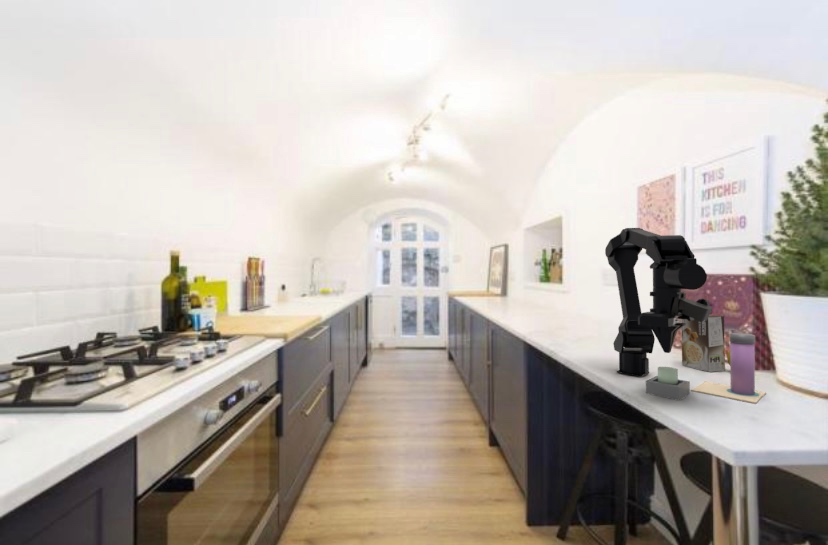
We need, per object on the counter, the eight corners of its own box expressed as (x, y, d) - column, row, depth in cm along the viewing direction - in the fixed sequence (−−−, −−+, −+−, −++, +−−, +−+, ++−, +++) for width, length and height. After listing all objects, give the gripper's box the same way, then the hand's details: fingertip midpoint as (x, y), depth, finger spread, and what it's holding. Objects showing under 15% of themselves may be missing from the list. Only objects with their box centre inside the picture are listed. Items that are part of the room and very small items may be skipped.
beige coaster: (691, 391, 95) (691, 389, 95) (705, 382, 102) (705, 381, 102) (755, 403, 86) (755, 402, 86) (766, 393, 92) (766, 392, 92)
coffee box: (726, 370, 113) (726, 315, 113) (709, 372, 111) (708, 316, 111) (696, 363, 122) (696, 312, 122) (680, 365, 120) (679, 313, 120)
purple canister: (727, 392, 93) (727, 334, 93) (732, 388, 96) (732, 332, 96) (752, 396, 89) (752, 336, 89) (757, 392, 92) (757, 334, 92)
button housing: (645, 393, 94) (645, 380, 94) (657, 387, 98) (657, 375, 98) (679, 400, 88) (679, 387, 88) (689, 394, 93) (689, 381, 93)
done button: (655, 385, 93) (655, 368, 93) (661, 381, 96) (661, 365, 96) (674, 388, 90) (674, 371, 90) (680, 385, 93) (680, 368, 93)
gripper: (694, 290, 81) (694, 365, 81) (719, 287, 93) (719, 352, 93) (636, 288, 90) (637, 356, 90) (666, 285, 101) (667, 345, 101)
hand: (667, 352), depth 93 cm, fingers closed
